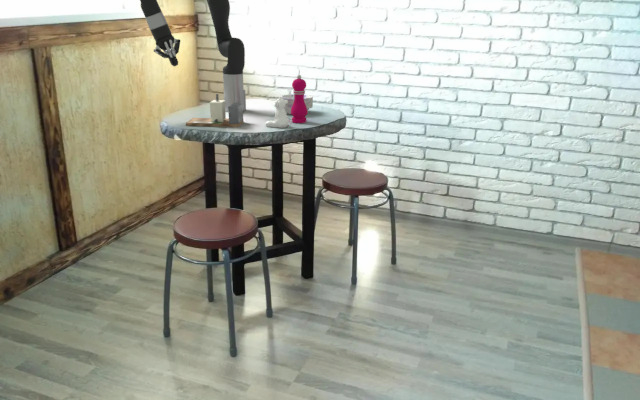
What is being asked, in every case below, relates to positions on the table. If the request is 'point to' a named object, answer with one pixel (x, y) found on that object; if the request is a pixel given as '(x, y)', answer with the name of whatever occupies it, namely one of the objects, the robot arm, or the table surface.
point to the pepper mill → (299, 101)
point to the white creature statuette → (279, 115)
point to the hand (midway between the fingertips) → (175, 65)
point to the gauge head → (217, 110)
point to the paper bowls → (290, 98)
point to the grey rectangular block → (235, 113)
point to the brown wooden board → (210, 123)
